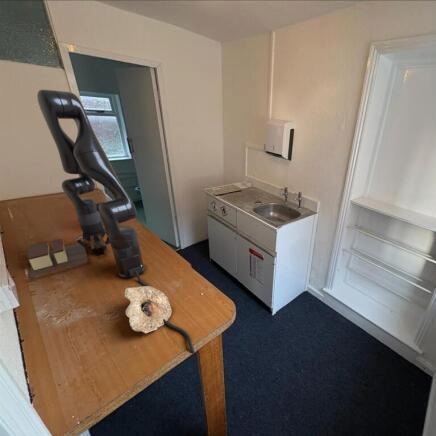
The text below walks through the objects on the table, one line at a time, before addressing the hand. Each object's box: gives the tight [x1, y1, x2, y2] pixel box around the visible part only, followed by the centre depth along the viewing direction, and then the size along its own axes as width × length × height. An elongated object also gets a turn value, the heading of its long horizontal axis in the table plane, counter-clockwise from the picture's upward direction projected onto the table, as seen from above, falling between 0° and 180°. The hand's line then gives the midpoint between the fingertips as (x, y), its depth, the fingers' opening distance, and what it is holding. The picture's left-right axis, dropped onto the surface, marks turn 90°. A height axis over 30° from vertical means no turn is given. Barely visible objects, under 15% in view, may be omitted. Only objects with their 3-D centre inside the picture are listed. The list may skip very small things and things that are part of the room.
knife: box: [94, 241, 105, 256], centre depth 114 cm, size 21×2×6 cm, turn 44°
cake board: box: [29, 243, 89, 278], centre depth 104 cm, size 20×18×2 cm
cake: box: [27, 241, 53, 270], centre depth 100 cm, size 12×6×6 cm, turn 44°
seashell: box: [124, 285, 172, 334], centre depth 81 cm, size 18×14×8 cm
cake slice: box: [51, 238, 68, 264], centre depth 104 cm, size 12×3×6 cm, turn 44°
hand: (100, 253), depth 112 cm, fingers open, 3 cm apart
